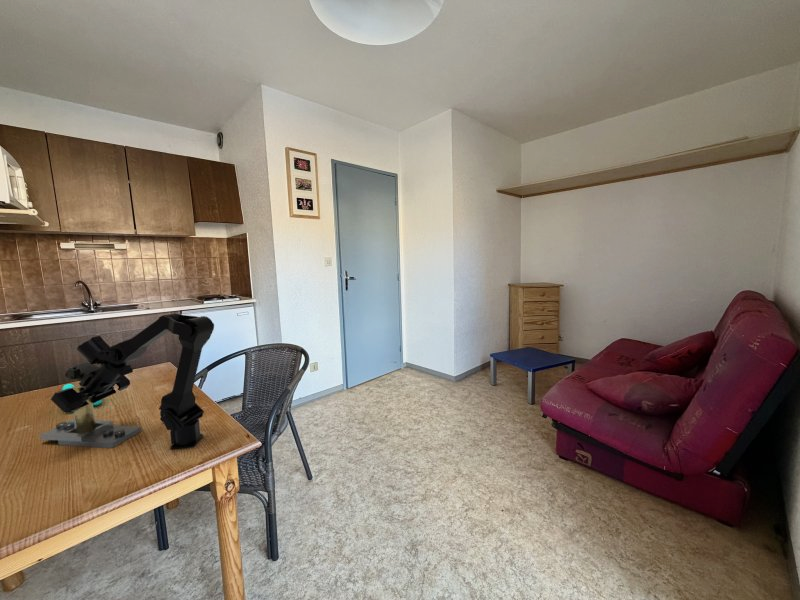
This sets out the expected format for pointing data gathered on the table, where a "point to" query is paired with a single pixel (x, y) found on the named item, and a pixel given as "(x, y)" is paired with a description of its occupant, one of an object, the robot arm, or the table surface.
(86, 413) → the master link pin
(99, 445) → the bolted metal plate
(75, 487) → the table surface
